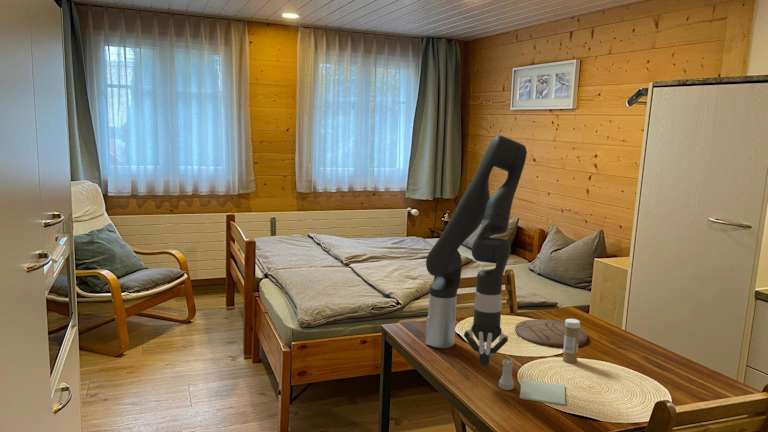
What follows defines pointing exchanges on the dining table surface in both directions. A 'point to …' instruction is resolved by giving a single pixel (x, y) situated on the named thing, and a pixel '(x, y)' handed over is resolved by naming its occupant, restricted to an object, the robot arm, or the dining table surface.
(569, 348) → the sprinkles bottle
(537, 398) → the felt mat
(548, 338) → the trivet
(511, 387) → the rook chess piece
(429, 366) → the dining table surface
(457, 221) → the robot arm
